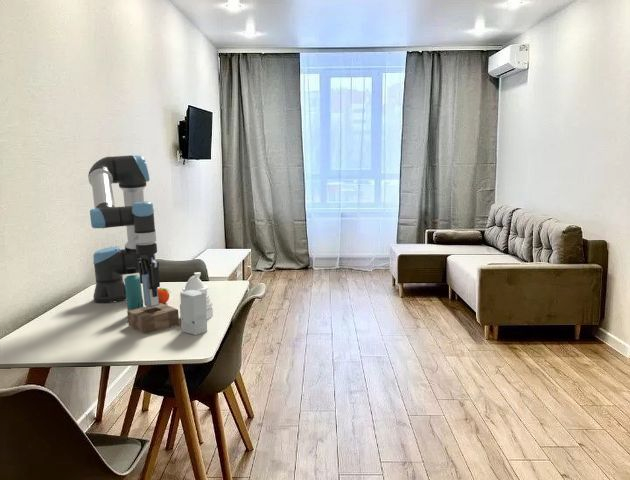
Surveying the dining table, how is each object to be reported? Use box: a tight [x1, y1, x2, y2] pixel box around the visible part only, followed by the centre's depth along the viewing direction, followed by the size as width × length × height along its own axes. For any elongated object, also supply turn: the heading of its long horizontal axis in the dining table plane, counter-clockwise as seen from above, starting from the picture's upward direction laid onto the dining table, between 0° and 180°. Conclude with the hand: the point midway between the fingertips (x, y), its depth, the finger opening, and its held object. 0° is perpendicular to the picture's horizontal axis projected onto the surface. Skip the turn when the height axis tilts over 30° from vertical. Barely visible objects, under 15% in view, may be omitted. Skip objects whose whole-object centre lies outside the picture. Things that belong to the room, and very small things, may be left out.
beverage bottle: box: [123, 267, 145, 312], centre depth 228 cm, size 6×7×20 cm
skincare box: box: [179, 290, 208, 336], centre depth 205 cm, size 8×6×15 cm
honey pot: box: [179, 271, 214, 320], centre depth 224 cm, size 13×13×18 cm
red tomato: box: [158, 287, 171, 304], centre depth 246 cm, size 8×7×7 cm
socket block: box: [126, 303, 180, 335], centre depth 216 cm, size 14×14×6 cm
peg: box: [141, 274, 159, 307], centre depth 214 cm, size 4×4×12 cm
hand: (151, 303), depth 215 cm, fingers closed on peg, 4 cm apart
